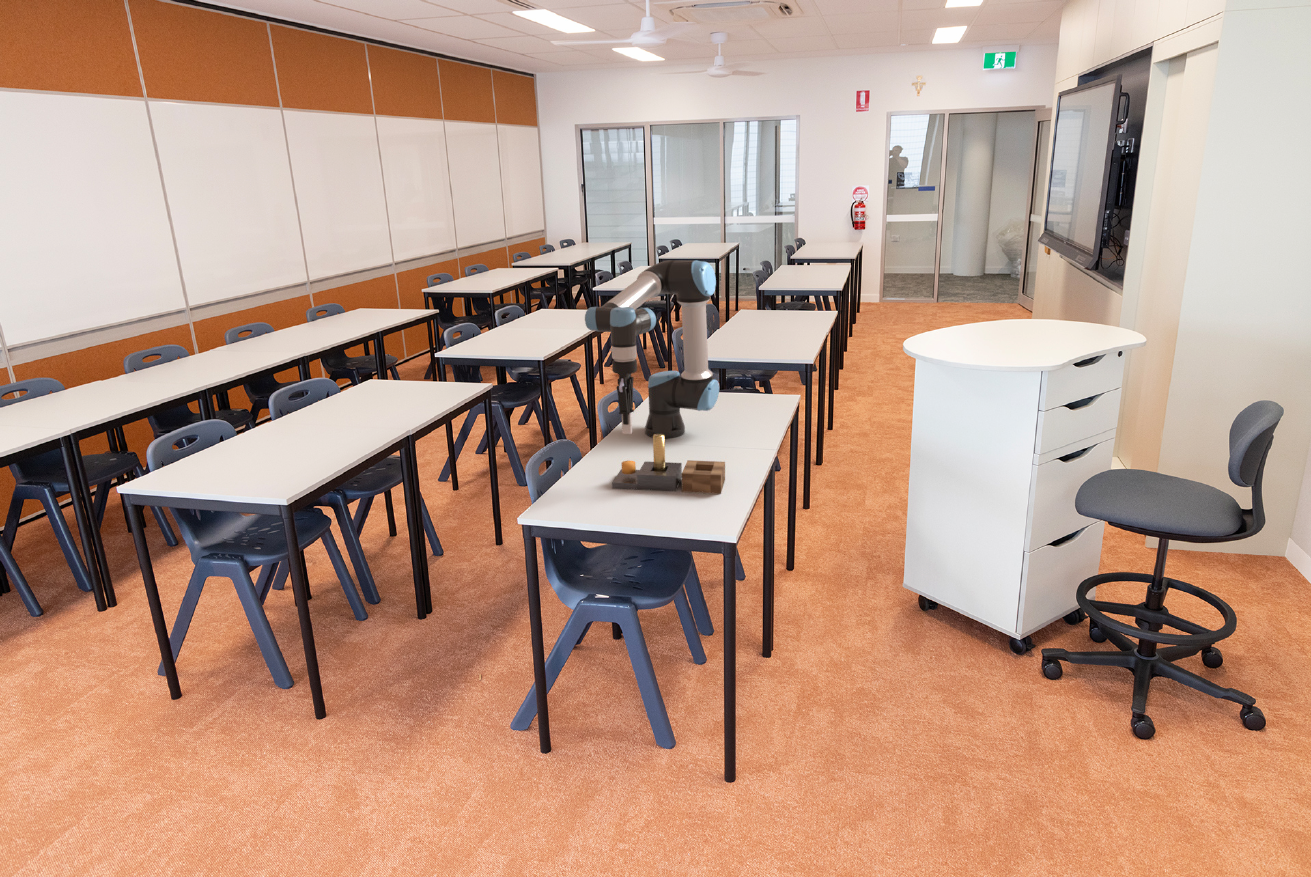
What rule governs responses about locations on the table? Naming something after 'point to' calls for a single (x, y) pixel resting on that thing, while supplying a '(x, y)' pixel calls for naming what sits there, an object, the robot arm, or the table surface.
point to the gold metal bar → (659, 452)
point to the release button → (628, 467)
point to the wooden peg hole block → (703, 476)
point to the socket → (650, 478)
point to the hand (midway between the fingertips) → (627, 433)
